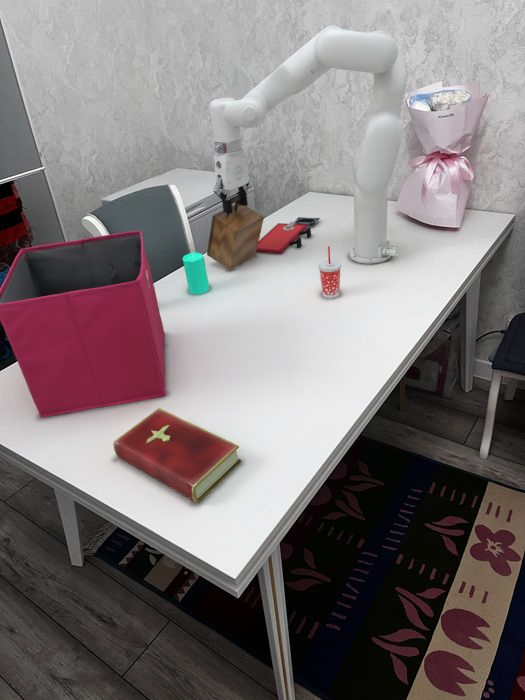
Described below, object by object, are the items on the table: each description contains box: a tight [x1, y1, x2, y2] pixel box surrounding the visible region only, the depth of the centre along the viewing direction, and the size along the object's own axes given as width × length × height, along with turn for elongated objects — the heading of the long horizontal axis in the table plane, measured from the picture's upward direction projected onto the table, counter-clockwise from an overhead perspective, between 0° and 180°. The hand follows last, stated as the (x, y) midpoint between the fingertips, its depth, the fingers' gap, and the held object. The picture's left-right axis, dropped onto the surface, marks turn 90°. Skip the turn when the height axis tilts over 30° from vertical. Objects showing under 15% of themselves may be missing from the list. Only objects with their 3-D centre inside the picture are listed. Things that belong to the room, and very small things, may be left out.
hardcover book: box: [112, 407, 242, 504], centre depth 102 cm, size 12×21×4 cm, turn 52°
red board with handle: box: [256, 216, 321, 255], centre depth 190 cm, size 30×3×15 cm
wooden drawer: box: [206, 194, 265, 271], centre depth 170 cm, size 20×13×10 cm
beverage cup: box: [317, 246, 342, 300], centre depth 148 cm, size 6×6×14 cm
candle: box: [182, 251, 210, 295], centre depth 160 cm, size 6×6×12 cm
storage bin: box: [0, 230, 167, 419], centre depth 123 cm, size 28×29×28 cm
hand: (235, 208), depth 166 cm, fingers closed on wooden drawer, 6 cm apart
